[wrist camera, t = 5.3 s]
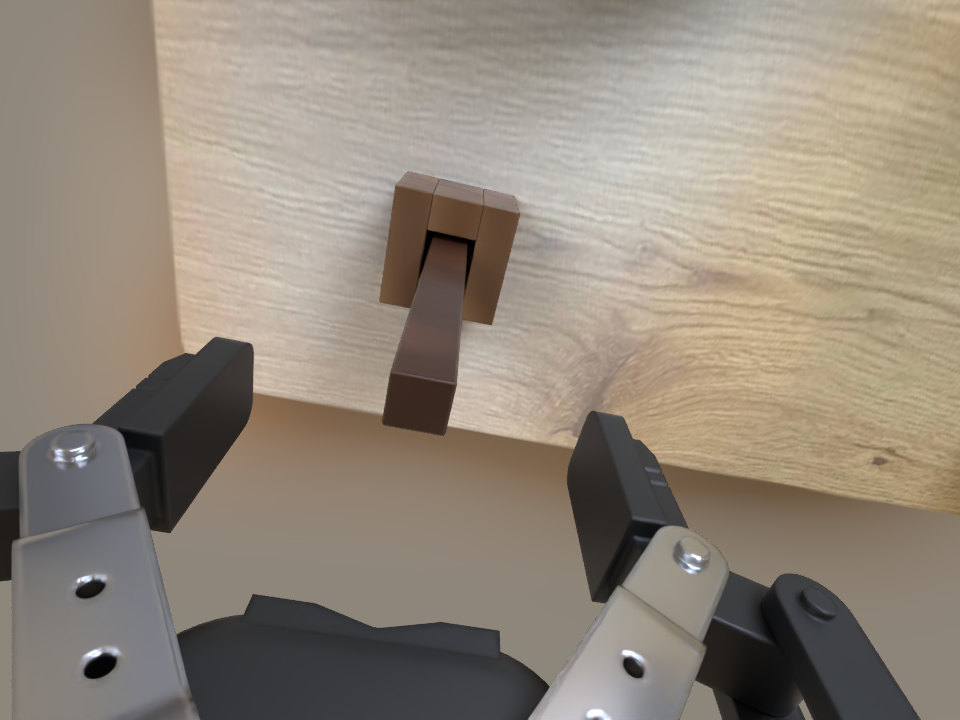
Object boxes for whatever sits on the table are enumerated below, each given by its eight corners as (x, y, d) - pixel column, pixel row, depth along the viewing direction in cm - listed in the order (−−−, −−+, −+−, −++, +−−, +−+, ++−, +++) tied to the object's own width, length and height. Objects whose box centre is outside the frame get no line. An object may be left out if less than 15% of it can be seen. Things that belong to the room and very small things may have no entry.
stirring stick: (433, 248, 27) (381, 426, 13) (438, 218, 26) (390, 371, 12) (463, 254, 27) (444, 437, 13) (469, 224, 26) (457, 384, 12)
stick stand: (391, 274, 28) (378, 302, 24) (407, 170, 25) (395, 184, 22) (490, 295, 28) (491, 325, 25) (514, 195, 26) (520, 213, 22)
